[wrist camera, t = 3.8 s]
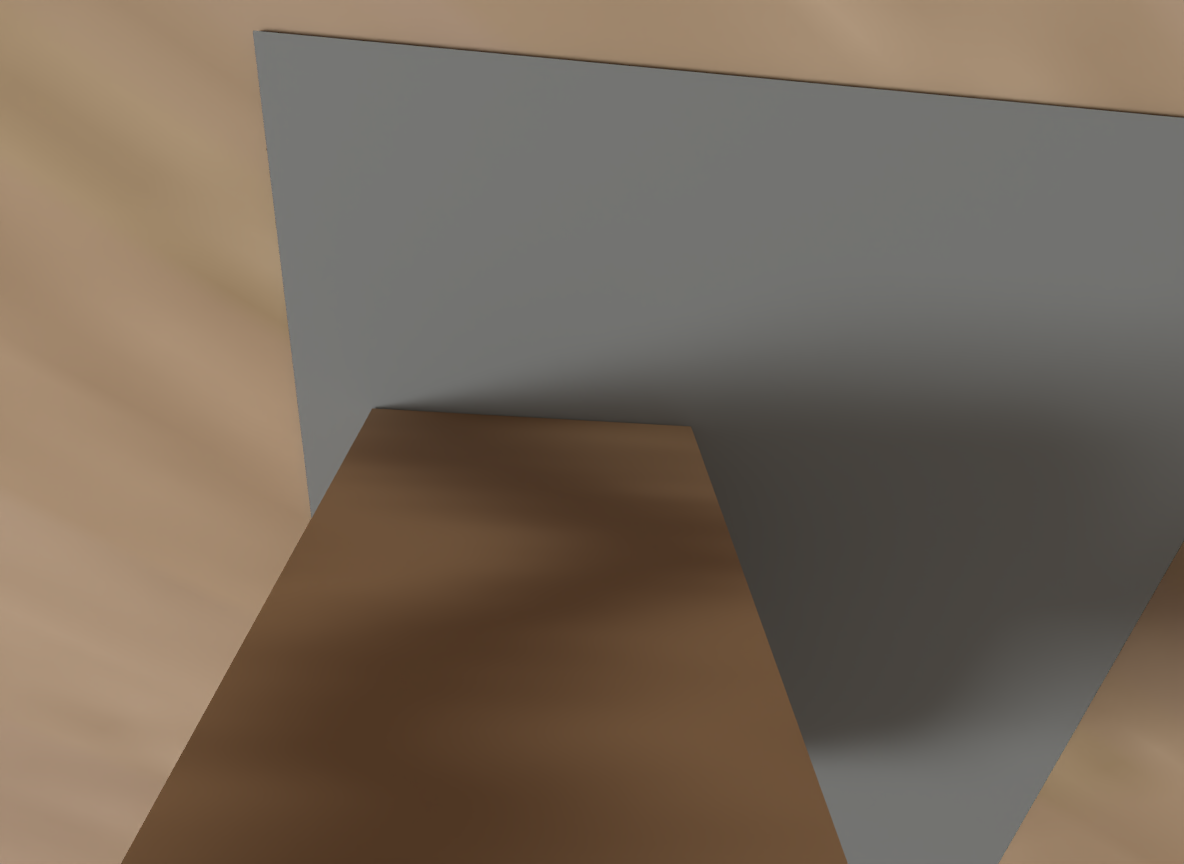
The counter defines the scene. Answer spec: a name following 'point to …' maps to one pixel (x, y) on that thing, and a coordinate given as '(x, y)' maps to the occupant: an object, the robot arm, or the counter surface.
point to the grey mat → (786, 363)
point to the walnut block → (502, 669)
